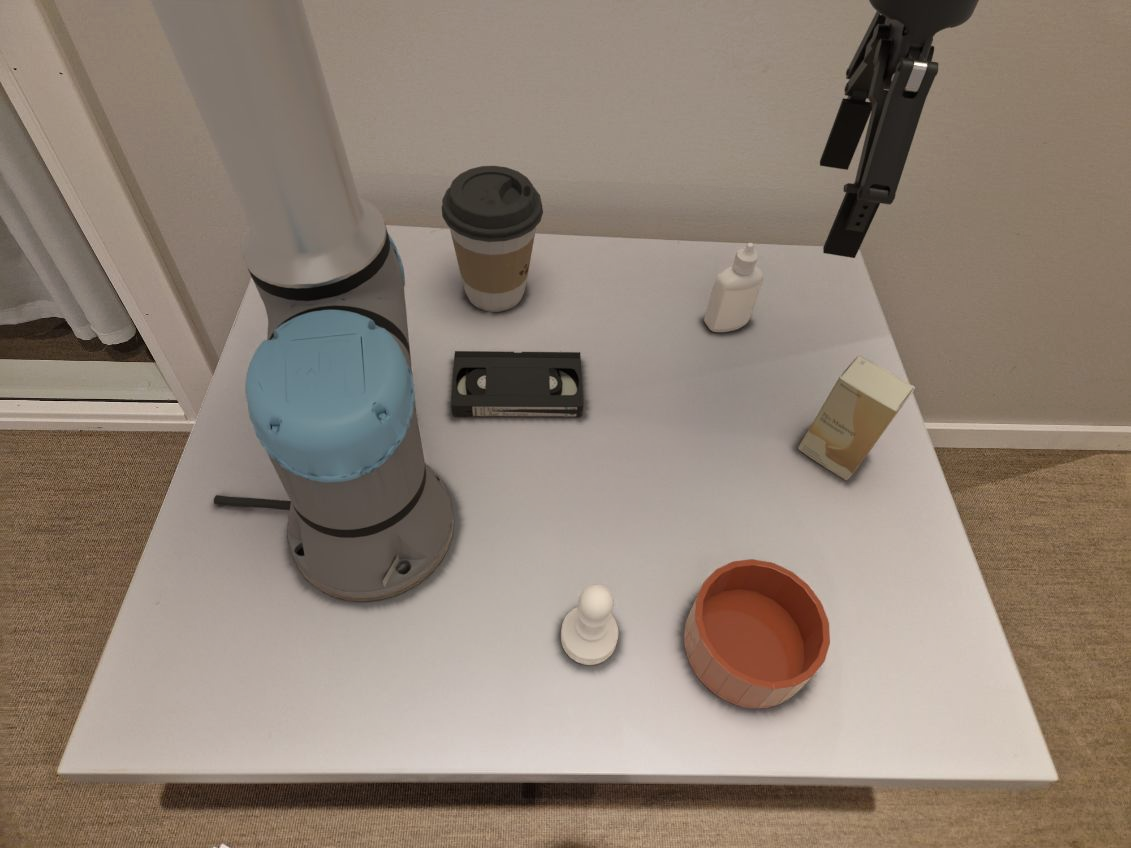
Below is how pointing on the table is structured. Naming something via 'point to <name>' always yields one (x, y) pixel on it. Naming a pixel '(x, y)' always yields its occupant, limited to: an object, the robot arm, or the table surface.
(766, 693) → the crock
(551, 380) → the vhs tape
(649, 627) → the table surface
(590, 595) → the chess pawn
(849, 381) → the cosmetic box
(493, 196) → the coffee cup
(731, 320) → the eye dropper bottle
